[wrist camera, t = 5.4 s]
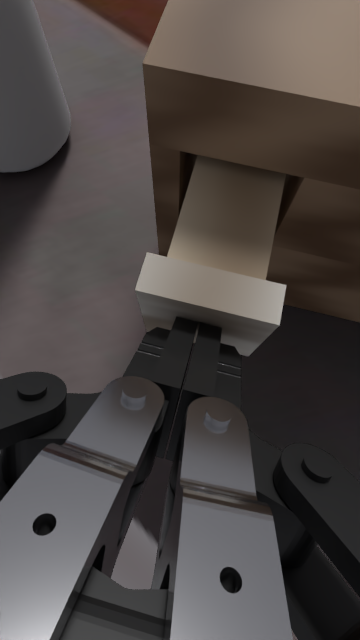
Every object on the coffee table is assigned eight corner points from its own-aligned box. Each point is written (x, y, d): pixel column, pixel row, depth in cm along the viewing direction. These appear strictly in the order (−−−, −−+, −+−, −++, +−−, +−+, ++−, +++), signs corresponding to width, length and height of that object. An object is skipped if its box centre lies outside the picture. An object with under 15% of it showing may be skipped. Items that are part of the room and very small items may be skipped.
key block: (160, 274, 20) (142, 62, 8) (189, 180, 22) (205, -91, 11) (437, 340, 19) (843, 203, 7) (439, 235, 21) (755, 2, 10)
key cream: (146, 330, 13) (134, 289, 9) (200, 148, 16) (209, 59, 12) (248, 356, 13) (279, 325, 9) (285, 166, 16) (320, 81, 12)
